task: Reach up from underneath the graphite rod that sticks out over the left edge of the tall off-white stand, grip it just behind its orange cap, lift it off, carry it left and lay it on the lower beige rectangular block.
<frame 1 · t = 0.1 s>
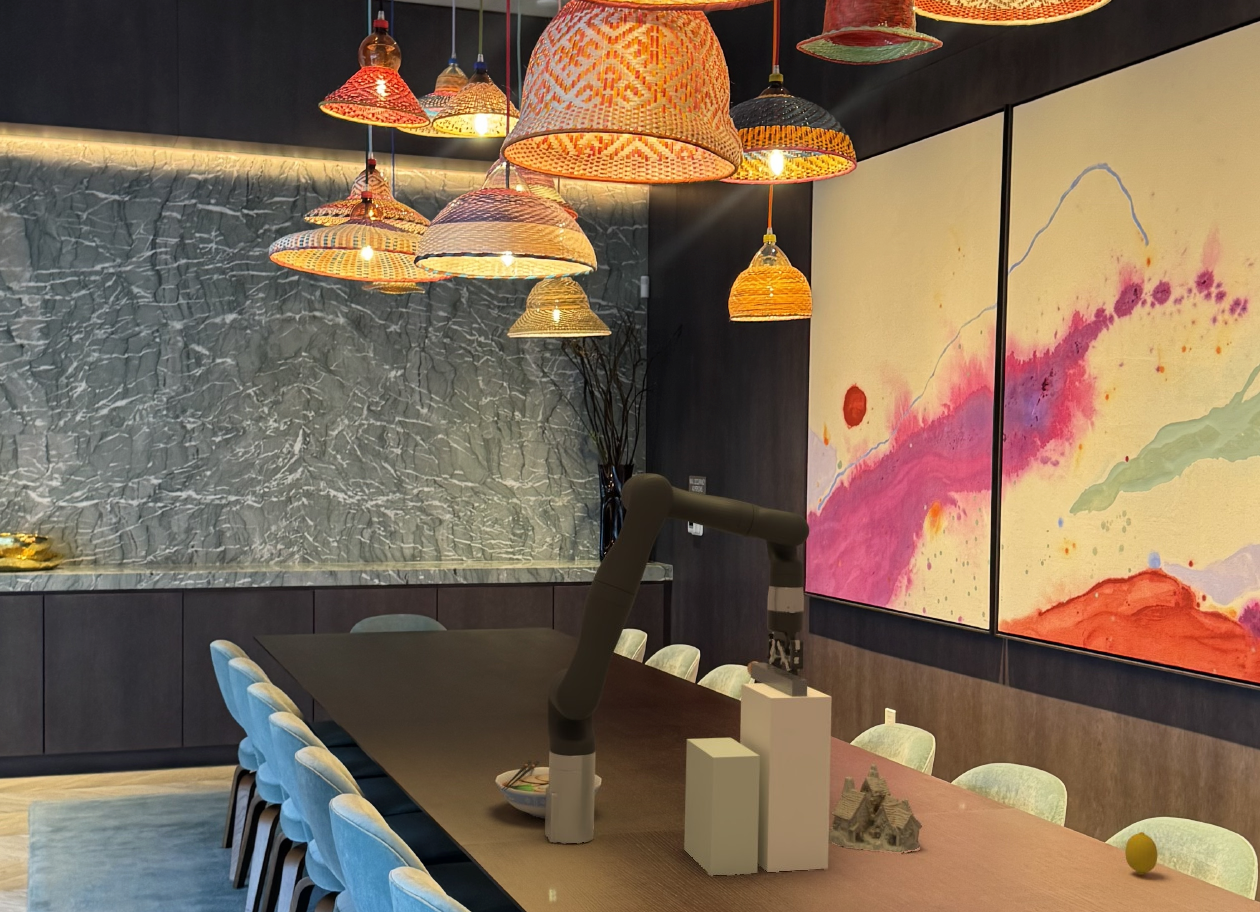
hand: (783, 685, 259), 29 cm above the table, tool pointing down, fingers open, 8 cm apart
rod: (777, 686, 241), point 32 cm above the table, touching white stand
beige rectangular block: (719, 861, 234), on the table
lemon: (1140, 876, 232), on the table
ramen bowl: (547, 815, 264), on the table
white stand: (781, 858, 237), on the table
ceramic cottage: (873, 845, 248), on the table
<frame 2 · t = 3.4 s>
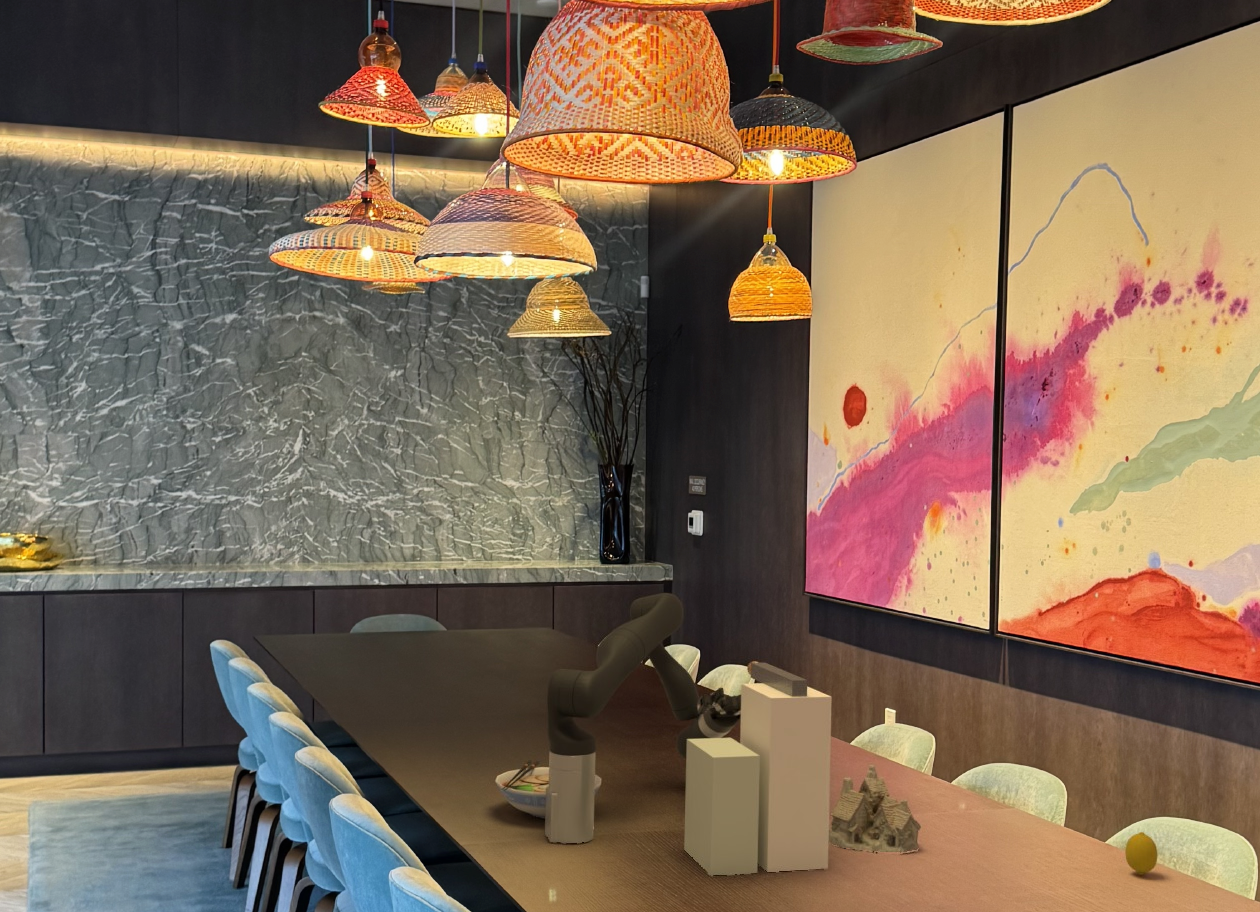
hand: (741, 691, 261), 28 cm above the table, tool pointing upward, fingers open, 8 cm apart
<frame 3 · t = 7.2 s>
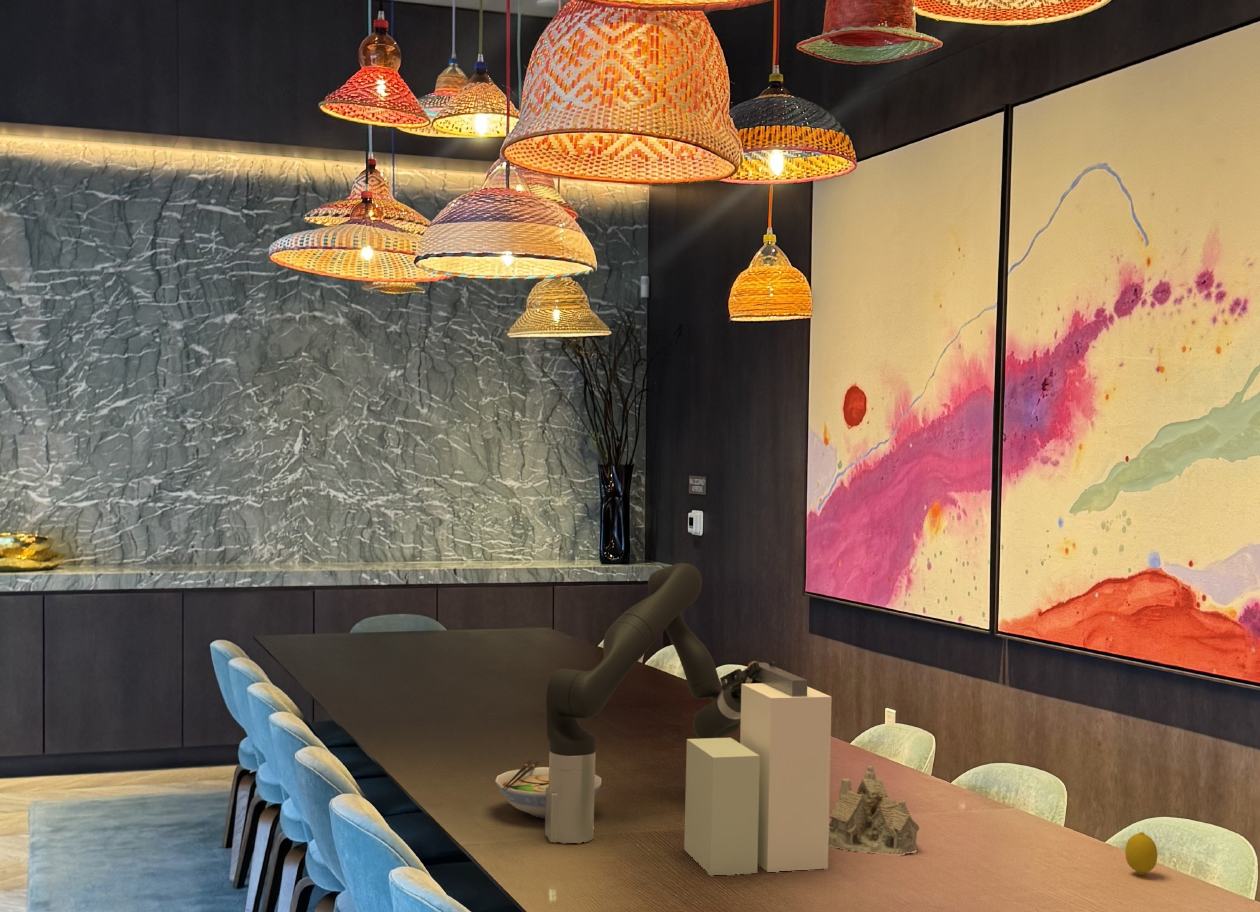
hand: (765, 666, 248), 35 cm above the table, tool pointing upward, fingers closed on rod, 3 cm apart
rod: (777, 686, 241), point 32 cm above the table, touching gripper, white stand
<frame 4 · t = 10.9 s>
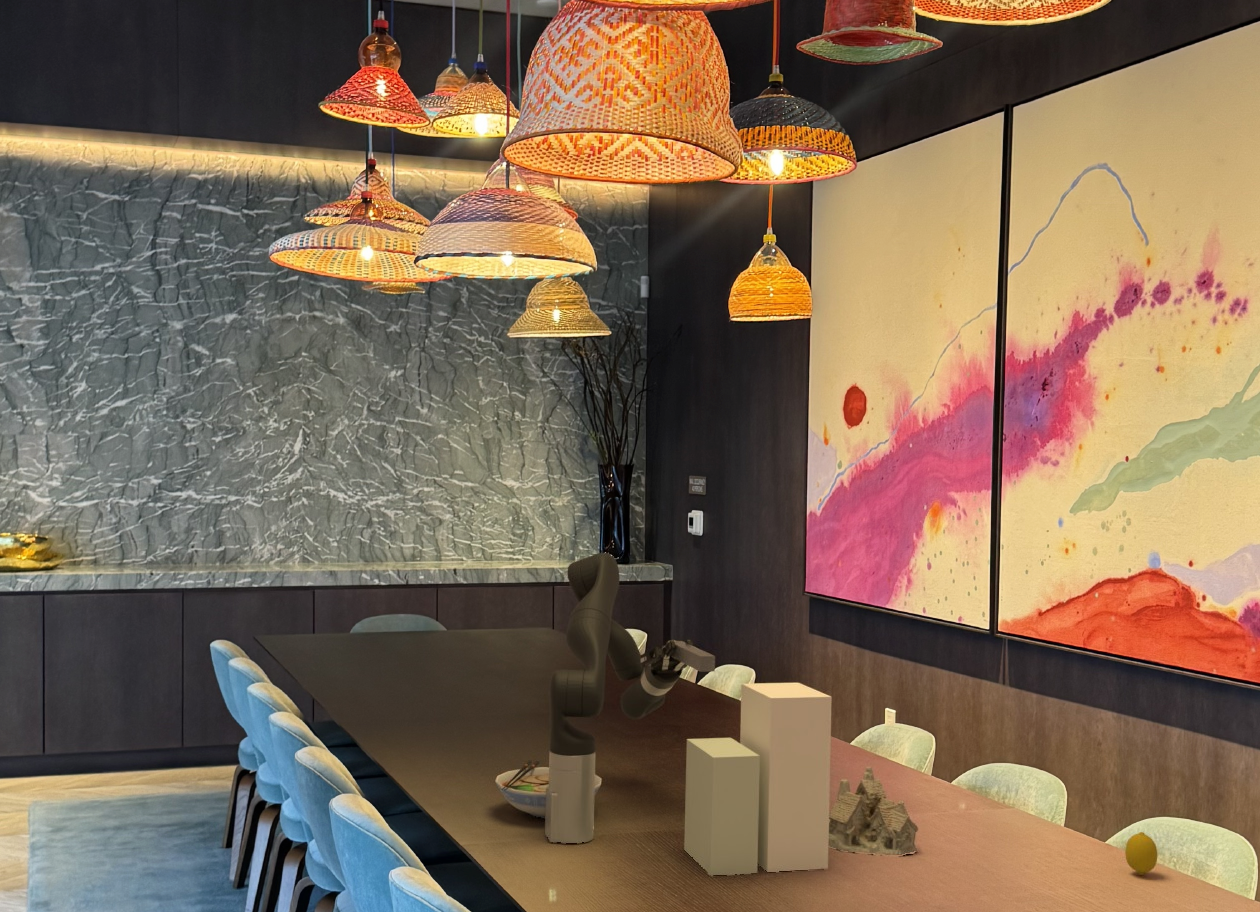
hand: (681, 644, 261), 37 cm above the table, tool pointing upward, fingers closed on rod, 3 cm apart
rod: (690, 663, 254), point 34 cm above the table, touching gripper
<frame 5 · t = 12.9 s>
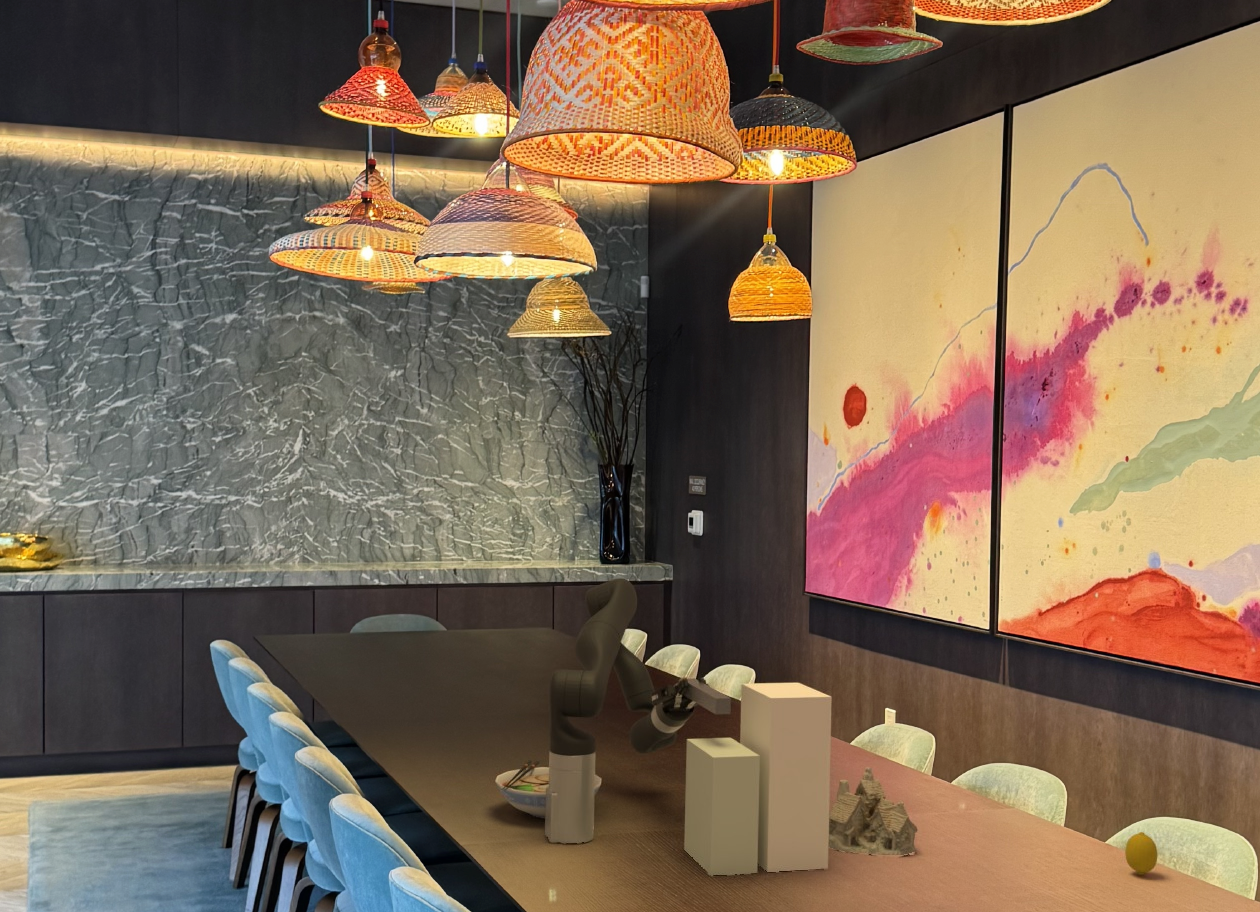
hand: (694, 682, 251), 31 cm above the table, tool pointing upward, fingers closed on rod, 3 cm apart
rod: (704, 703, 245), point 28 cm above the table, touching gripper
when the fingers open (26 cm above the table, at t = 14.9 s): rod drops 1 cm, resting on beige rectangular block.
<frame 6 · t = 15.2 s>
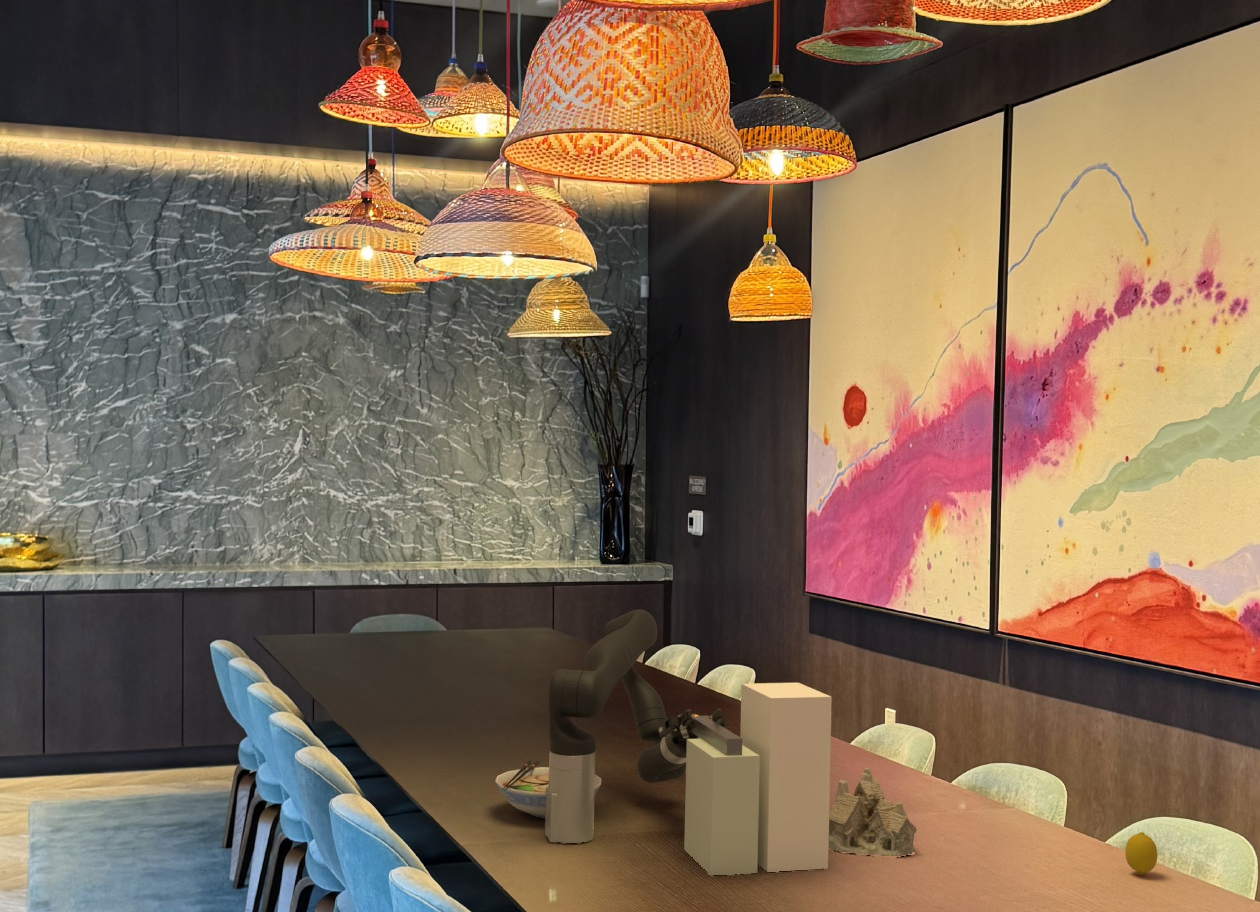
hand: (704, 713, 245), 26 cm above the table, tool pointing upward, fingers open, 5 cm apart
rod: (714, 742, 238), point 21 cm above the table, touching beige rectangular block
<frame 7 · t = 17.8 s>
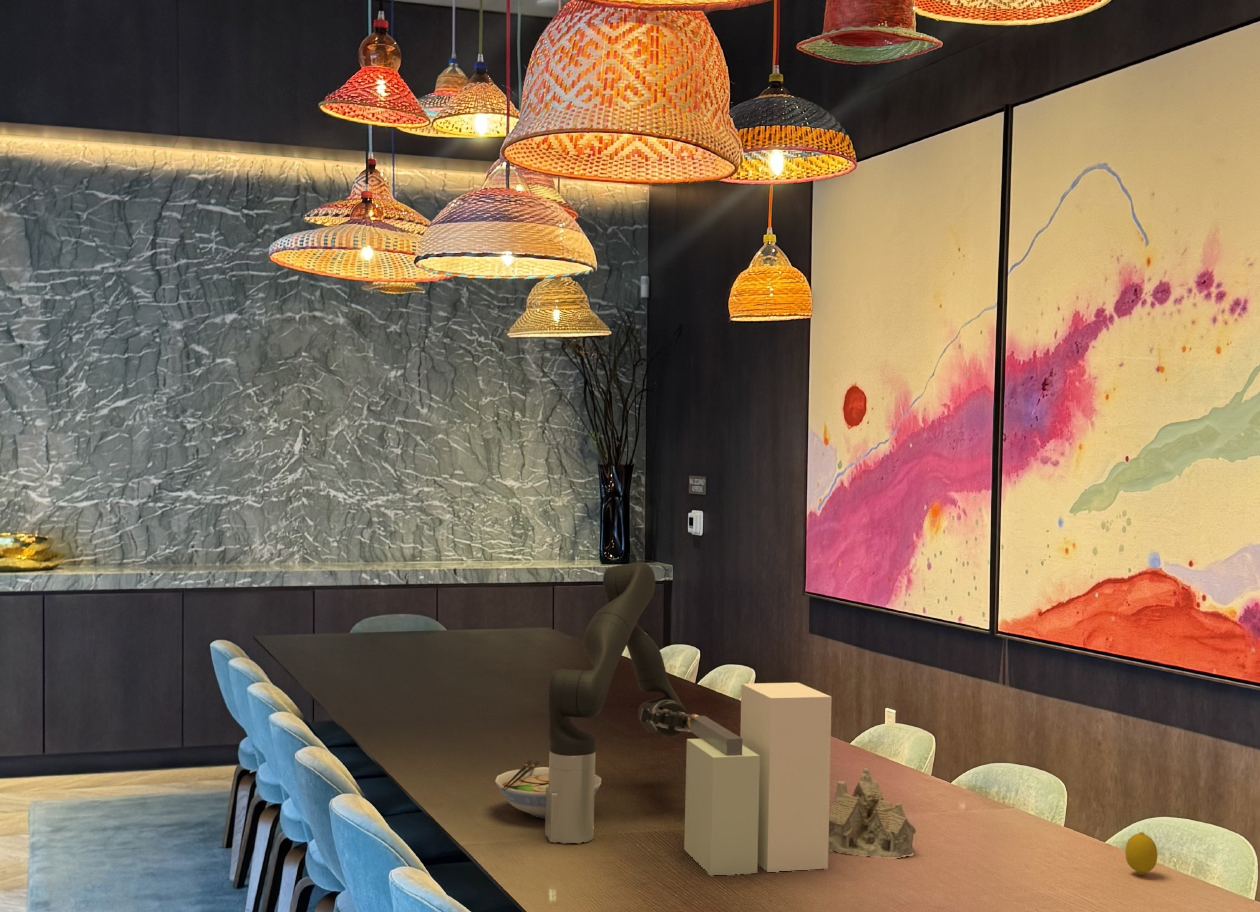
hand: (677, 722, 255), 22 cm above the table, tool horizontal, fingers open, 8 cm apart
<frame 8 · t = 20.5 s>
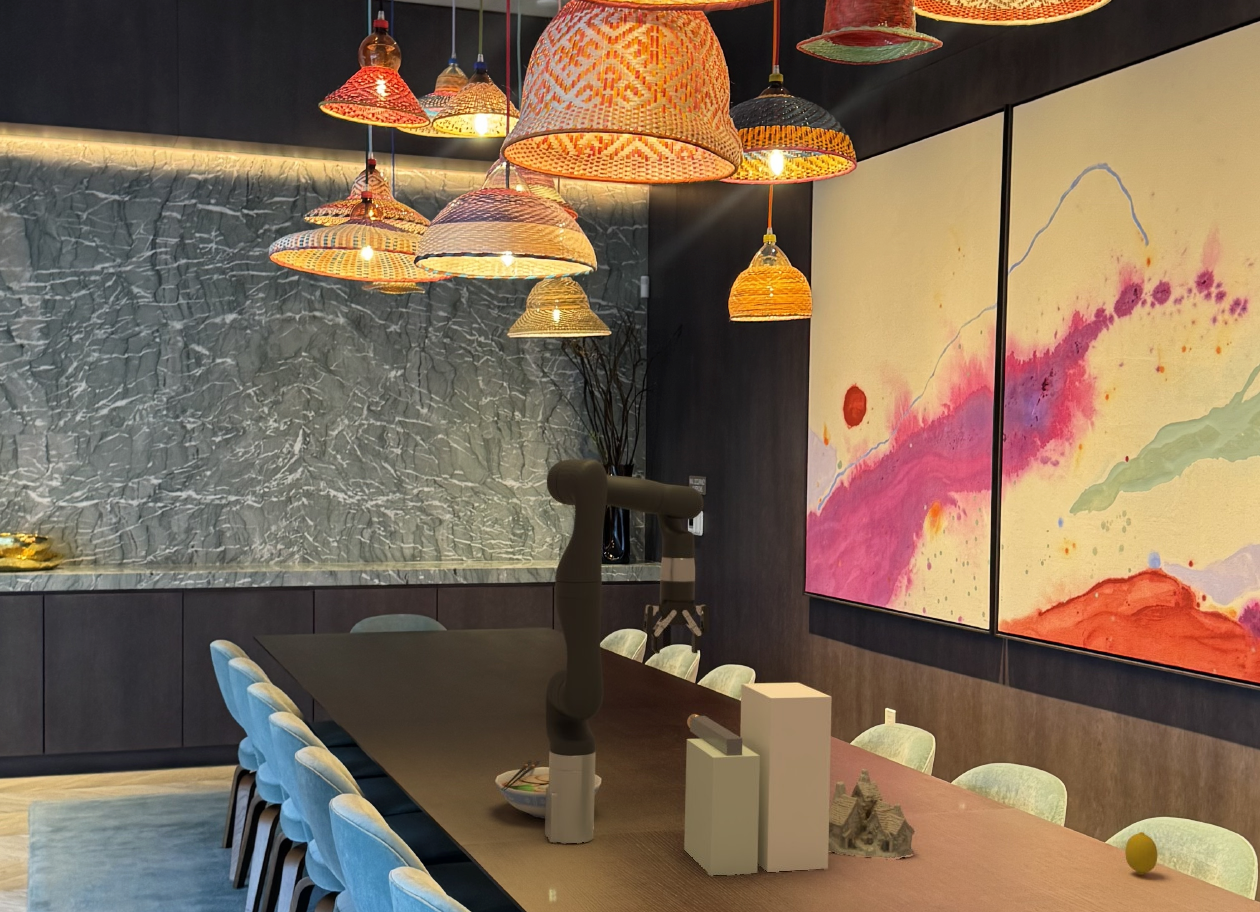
hand: (675, 653, 269), 34 cm above the table, tool pointing down, fingers open, 8 cm apart
at the end: rod inside the target area on the beige rectangular block (0.6 cm from its centre), point 21.5 cm above the beige rectangular block's base; rod touching beige rectangular block; the gripper is holding nothing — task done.
